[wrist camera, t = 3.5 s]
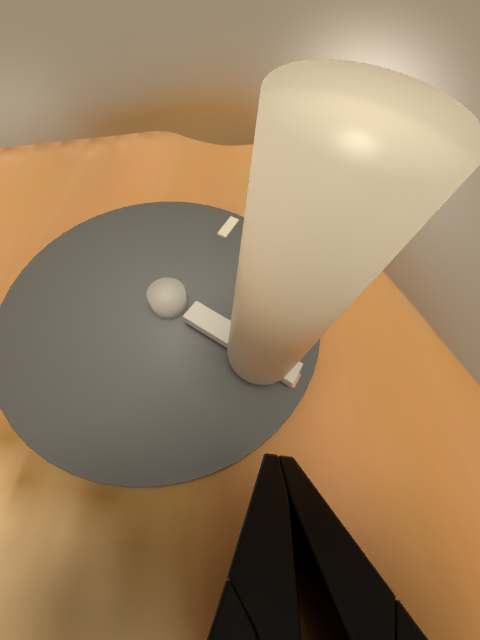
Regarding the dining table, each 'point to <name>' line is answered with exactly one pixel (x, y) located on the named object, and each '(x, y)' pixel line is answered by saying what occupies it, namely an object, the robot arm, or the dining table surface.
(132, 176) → the dining table surface
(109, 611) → the dining table surface
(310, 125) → the tall cream cylinder
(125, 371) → the grey round platter
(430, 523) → the dining table surface
